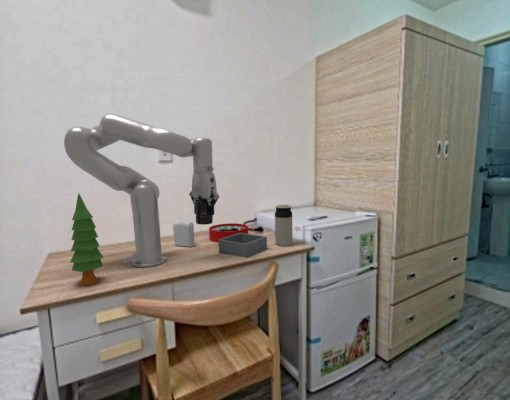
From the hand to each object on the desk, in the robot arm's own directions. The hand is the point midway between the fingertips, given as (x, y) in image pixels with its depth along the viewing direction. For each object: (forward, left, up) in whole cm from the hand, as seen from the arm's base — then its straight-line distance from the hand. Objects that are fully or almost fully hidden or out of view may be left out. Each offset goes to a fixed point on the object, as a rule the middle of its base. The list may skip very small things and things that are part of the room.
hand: (204, 213), depth 121 cm
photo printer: (+7, +22, -18) cm, 29 cm away
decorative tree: (-40, +15, -18) cm, 46 cm away
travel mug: (+33, -17, -18) cm, 42 cm away
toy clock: (+29, +13, -18) cm, 37 cm away
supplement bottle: (0, 0, -4) cm, 4 cm away
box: (+15, -7, -18) cm, 25 cm away
